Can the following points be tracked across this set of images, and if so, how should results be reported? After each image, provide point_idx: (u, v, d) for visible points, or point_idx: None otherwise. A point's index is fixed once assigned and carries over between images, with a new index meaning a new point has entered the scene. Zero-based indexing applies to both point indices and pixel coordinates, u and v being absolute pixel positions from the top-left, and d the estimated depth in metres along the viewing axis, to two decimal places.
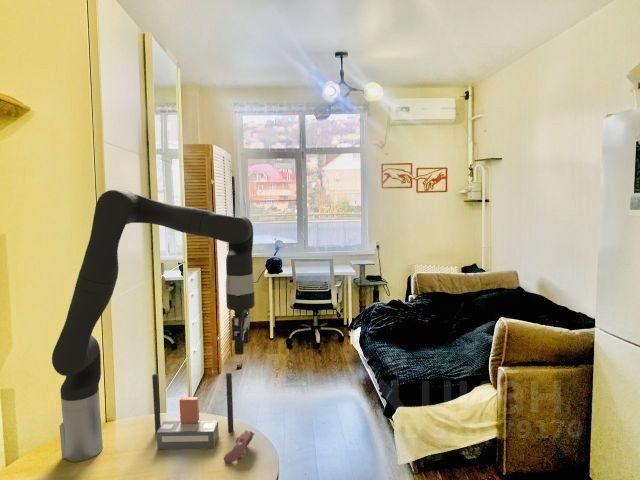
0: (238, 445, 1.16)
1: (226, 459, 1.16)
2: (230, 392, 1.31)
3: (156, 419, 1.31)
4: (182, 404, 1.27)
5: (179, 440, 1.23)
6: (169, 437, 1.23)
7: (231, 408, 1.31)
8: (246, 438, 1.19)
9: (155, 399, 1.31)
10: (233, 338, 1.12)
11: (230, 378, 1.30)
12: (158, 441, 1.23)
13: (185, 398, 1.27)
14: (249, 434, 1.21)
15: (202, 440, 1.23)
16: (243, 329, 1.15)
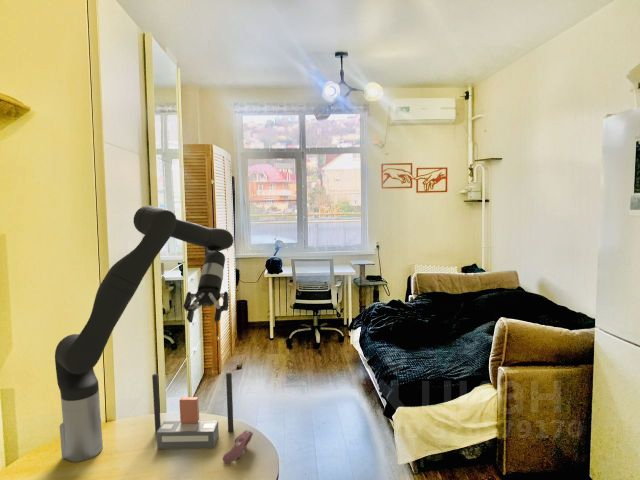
0: (237, 445, 1.17)
1: (225, 459, 1.16)
2: (230, 392, 1.31)
3: (156, 419, 1.31)
4: (182, 404, 1.27)
5: (179, 440, 1.23)
6: (169, 437, 1.23)
7: (231, 408, 1.31)
8: (245, 438, 1.19)
9: (155, 399, 1.31)
10: (226, 305, 1.43)
11: (230, 378, 1.30)
12: (158, 441, 1.23)
13: (185, 398, 1.27)
14: (248, 434, 1.21)
15: (202, 440, 1.23)
16: None
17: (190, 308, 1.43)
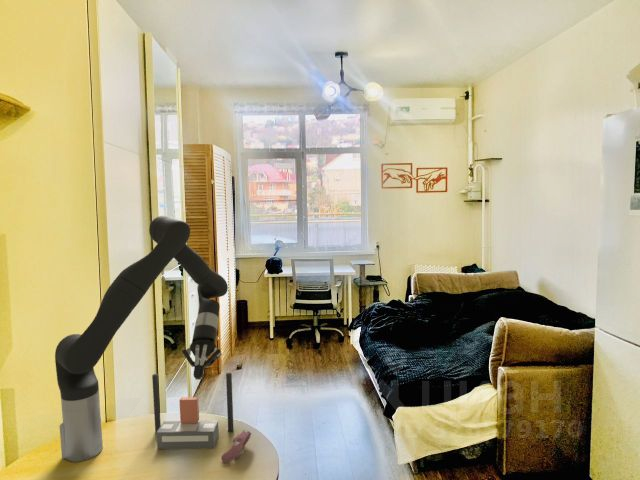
0: (235, 445, 1.17)
1: (223, 459, 1.16)
2: (230, 392, 1.31)
3: (156, 419, 1.31)
4: (182, 404, 1.27)
5: (179, 440, 1.23)
6: (169, 437, 1.23)
7: (231, 408, 1.31)
8: (243, 438, 1.19)
9: (155, 399, 1.31)
10: (209, 362, 1.40)
11: (230, 378, 1.30)
12: (158, 441, 1.23)
13: (185, 398, 1.27)
14: (246, 434, 1.21)
15: (202, 440, 1.23)
16: (206, 360, 1.43)
17: (196, 364, 1.39)
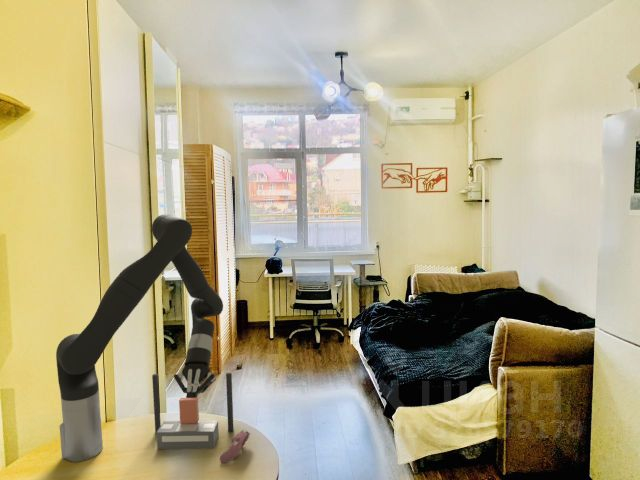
0: (234, 445, 1.17)
1: (222, 459, 1.17)
2: (230, 392, 1.31)
3: (156, 419, 1.31)
4: (182, 405, 1.26)
5: (179, 440, 1.23)
6: (169, 437, 1.23)
7: (231, 408, 1.31)
8: (242, 438, 1.19)
9: (155, 399, 1.31)
10: (202, 389, 1.31)
11: (230, 378, 1.30)
12: (158, 441, 1.23)
13: (185, 399, 1.27)
14: (245, 434, 1.21)
15: (202, 440, 1.23)
16: (200, 386, 1.34)
17: (189, 391, 1.30)
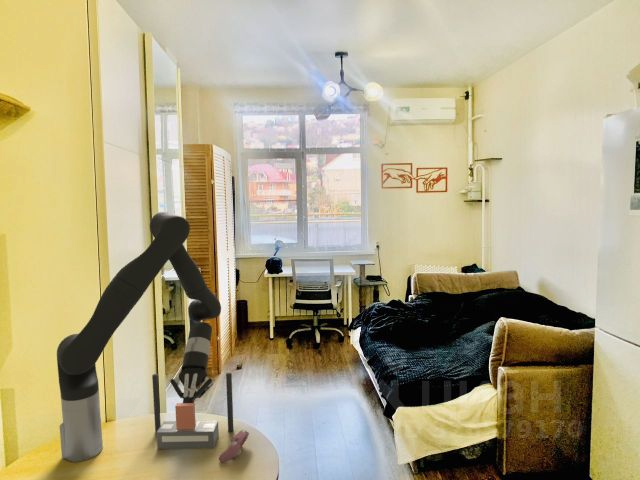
0: (233, 445, 1.17)
1: (221, 459, 1.17)
2: (230, 392, 1.31)
3: (156, 419, 1.31)
4: (178, 410, 1.23)
5: (179, 440, 1.23)
6: (169, 437, 1.23)
7: (231, 408, 1.31)
8: (241, 438, 1.19)
9: (155, 399, 1.31)
10: (199, 394, 1.28)
11: (230, 378, 1.30)
12: (158, 441, 1.23)
13: (181, 404, 1.24)
14: (244, 434, 1.21)
15: (202, 440, 1.23)
16: (197, 391, 1.30)
17: (185, 396, 1.27)
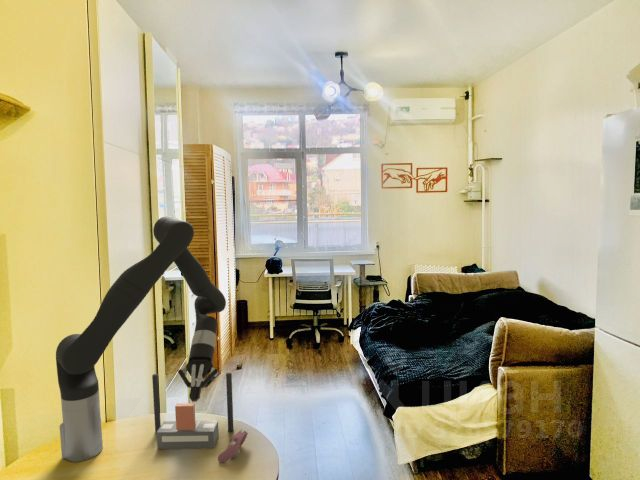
0: (232, 445, 1.17)
1: (220, 459, 1.17)
2: (230, 392, 1.31)
3: (156, 419, 1.31)
4: (178, 411, 1.23)
5: (179, 440, 1.23)
6: (169, 437, 1.23)
7: (231, 408, 1.31)
8: (240, 438, 1.19)
9: (155, 399, 1.31)
10: (206, 383, 1.34)
11: (230, 378, 1.30)
12: (158, 441, 1.23)
13: (181, 404, 1.24)
14: (243, 434, 1.21)
15: (202, 440, 1.23)
16: (203, 380, 1.37)
17: (193, 385, 1.34)
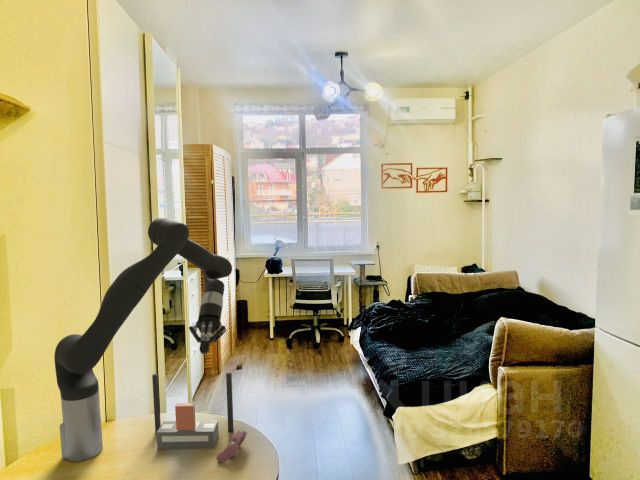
0: (231, 444, 1.17)
1: (218, 459, 1.17)
2: (230, 392, 1.31)
3: (156, 419, 1.31)
4: (178, 411, 1.23)
5: (179, 440, 1.23)
6: (169, 437, 1.23)
7: (231, 408, 1.31)
8: (239, 437, 1.19)
9: (155, 399, 1.31)
10: (214, 338, 1.46)
11: (230, 378, 1.30)
12: (158, 441, 1.23)
13: (181, 404, 1.24)
14: (242, 434, 1.21)
15: (202, 440, 1.23)
16: (212, 336, 1.49)
17: (202, 340, 1.46)
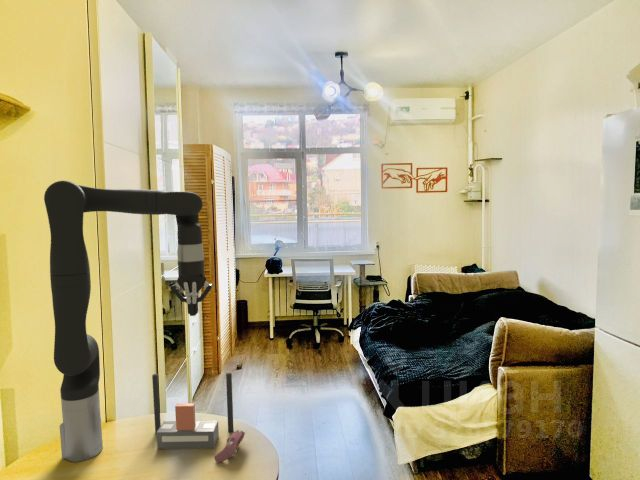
0: (229, 444, 1.17)
1: (217, 459, 1.17)
2: (230, 392, 1.31)
3: (156, 419, 1.31)
4: (178, 411, 1.23)
5: (179, 440, 1.23)
6: (169, 437, 1.23)
7: (231, 408, 1.31)
8: (237, 437, 1.19)
9: (155, 399, 1.31)
10: None
11: (230, 378, 1.30)
12: (158, 441, 1.23)
13: (181, 404, 1.24)
14: (240, 433, 1.21)
15: (202, 440, 1.23)
16: (198, 293, 1.33)
17: (189, 302, 1.31)
